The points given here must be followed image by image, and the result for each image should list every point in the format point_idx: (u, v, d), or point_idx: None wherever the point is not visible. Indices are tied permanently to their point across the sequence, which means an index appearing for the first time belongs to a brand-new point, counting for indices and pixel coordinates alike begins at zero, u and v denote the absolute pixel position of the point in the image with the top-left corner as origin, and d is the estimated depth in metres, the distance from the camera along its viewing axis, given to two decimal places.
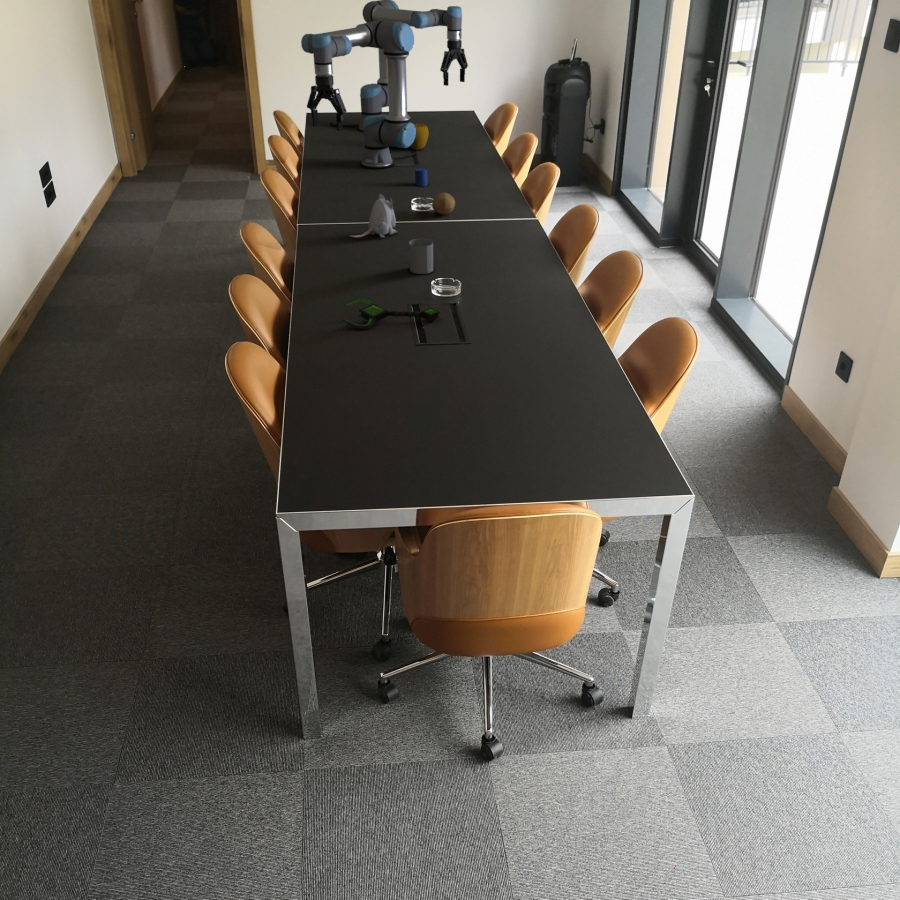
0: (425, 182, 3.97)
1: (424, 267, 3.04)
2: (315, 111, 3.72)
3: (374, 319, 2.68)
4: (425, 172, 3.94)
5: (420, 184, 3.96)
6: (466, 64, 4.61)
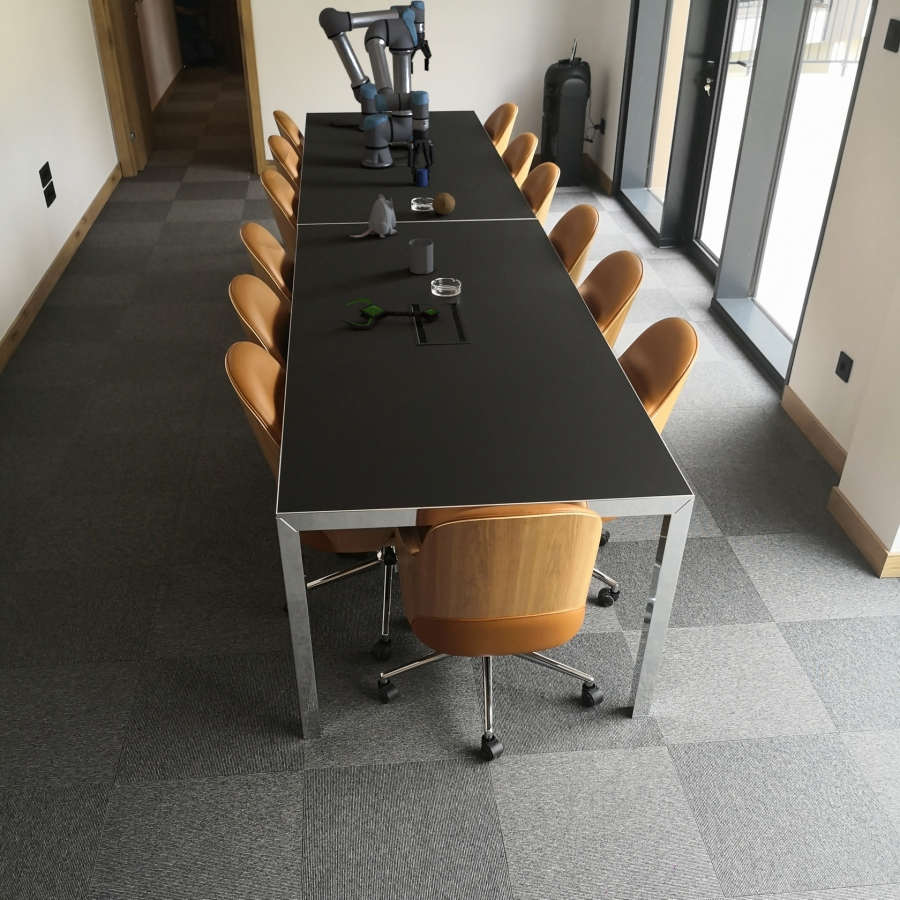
0: (425, 182, 3.97)
1: (424, 267, 3.04)
2: None
3: (374, 319, 2.68)
4: (425, 172, 3.94)
5: (420, 184, 3.96)
6: (430, 54, 4.98)
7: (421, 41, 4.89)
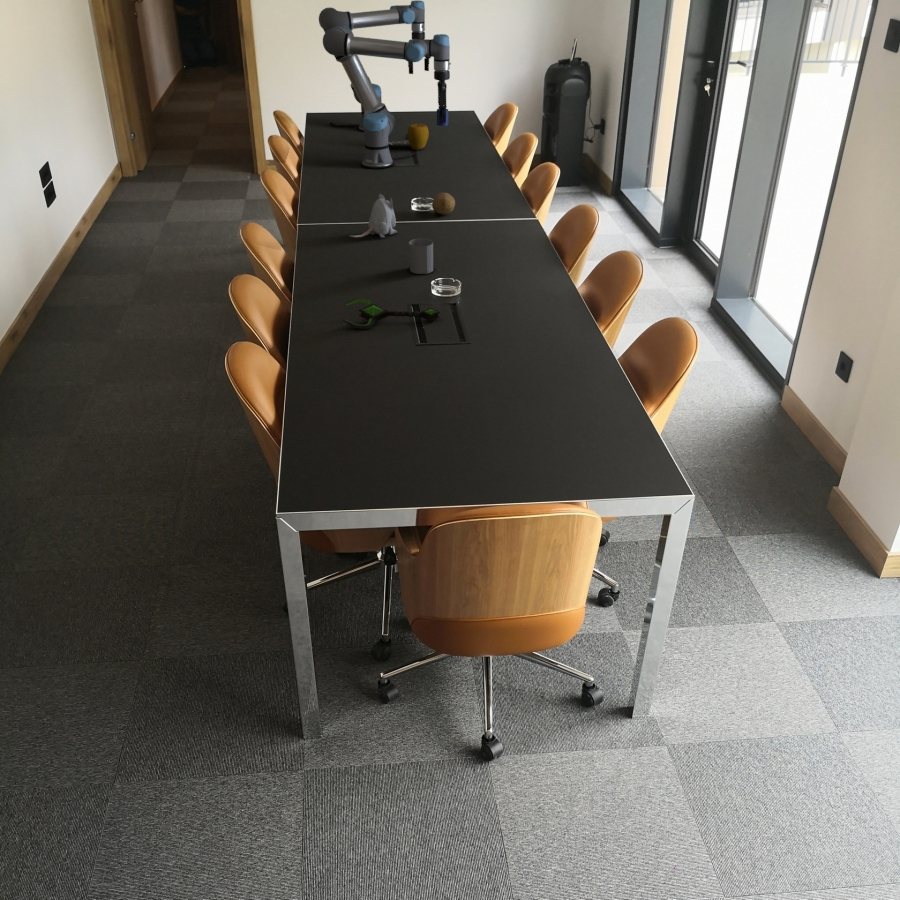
0: None
1: (424, 267, 3.04)
2: None
3: (374, 319, 2.68)
4: None
5: (447, 123, 4.25)
6: None
7: None
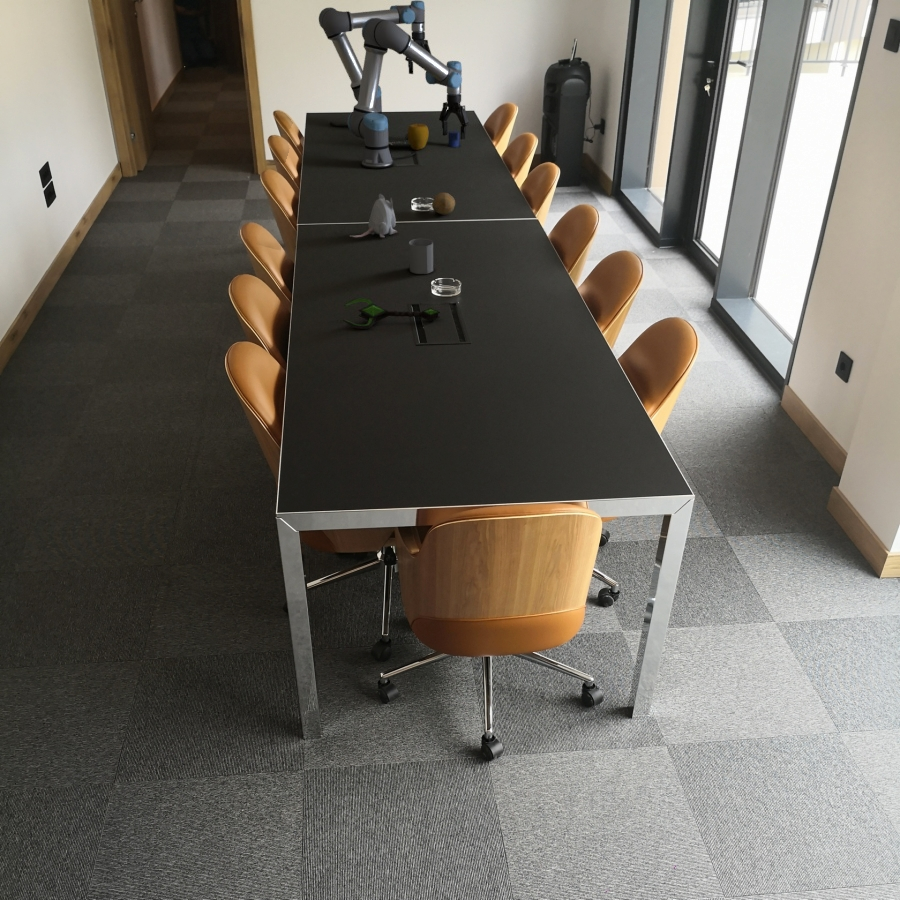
0: None
1: (424, 267, 3.04)
2: None
3: (374, 319, 2.68)
4: None
5: None
6: None
7: (421, 41, 4.89)
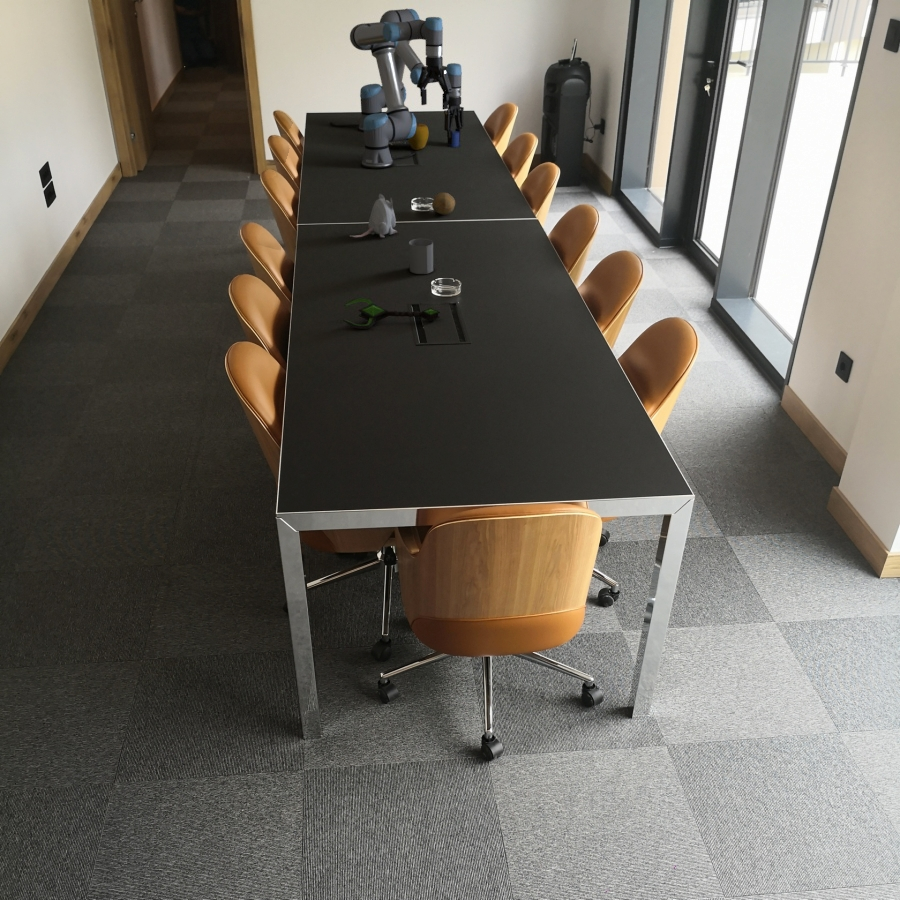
0: None
1: (424, 267, 3.04)
2: None
3: (374, 319, 2.68)
4: None
5: None
6: (462, 124, 4.59)
7: (457, 106, 4.51)
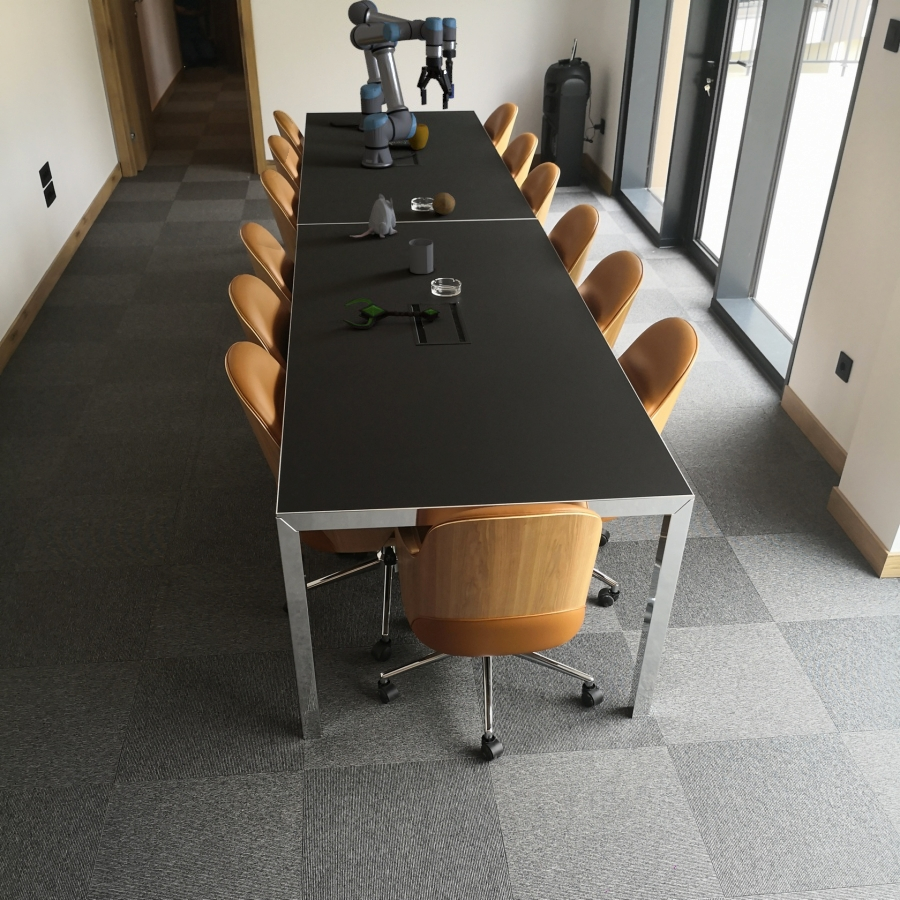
0: None
1: (424, 267, 3.04)
2: None
3: (374, 319, 2.68)
4: None
5: None
6: None
7: None
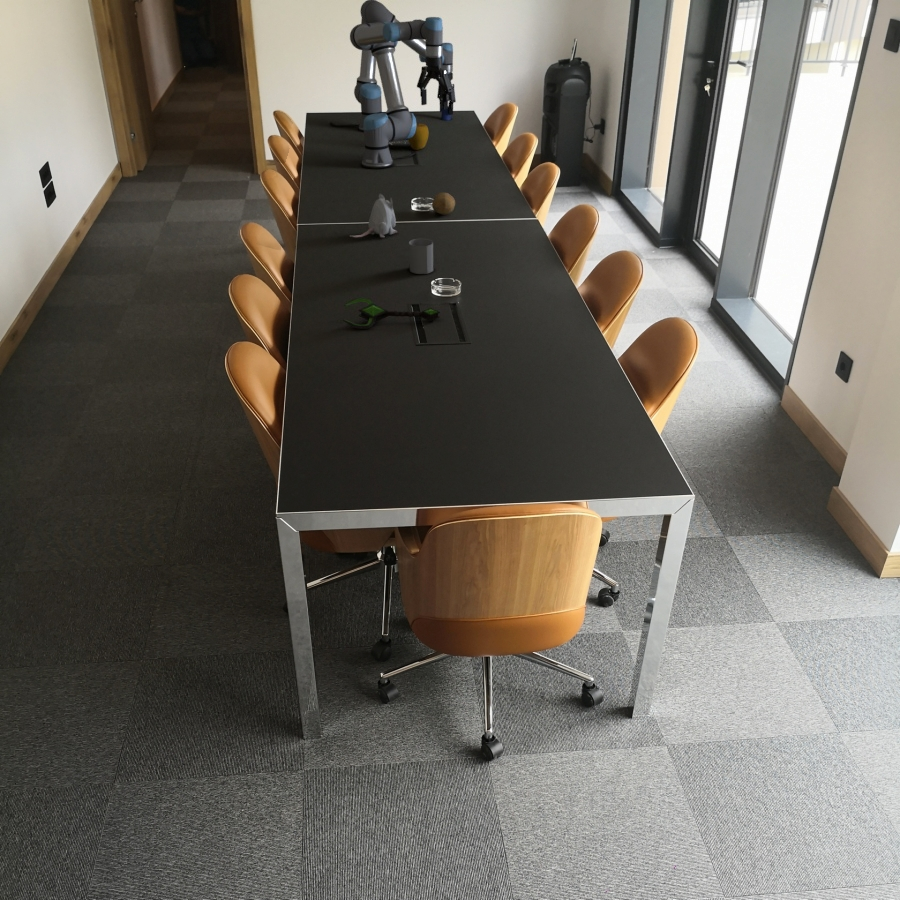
0: None
1: (424, 267, 3.04)
2: None
3: (374, 319, 2.68)
4: None
5: None
6: None
7: None
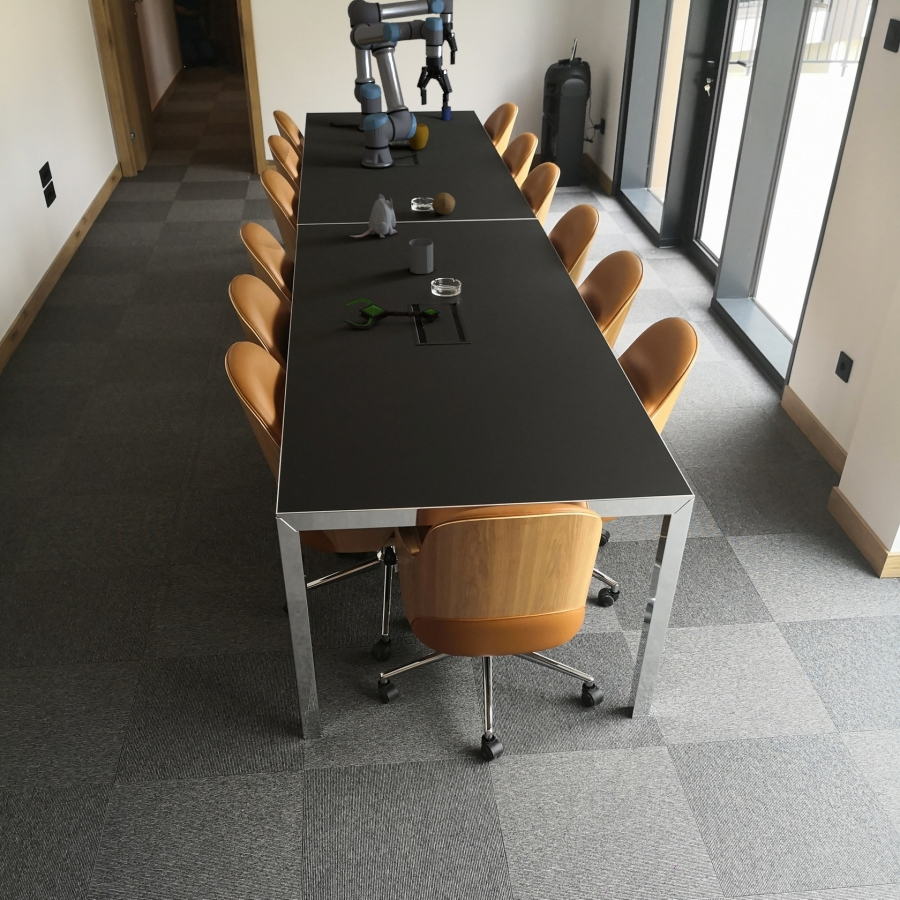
0: None
1: (424, 267, 3.04)
2: None
3: (374, 319, 2.68)
4: None
5: None
6: None
7: None
